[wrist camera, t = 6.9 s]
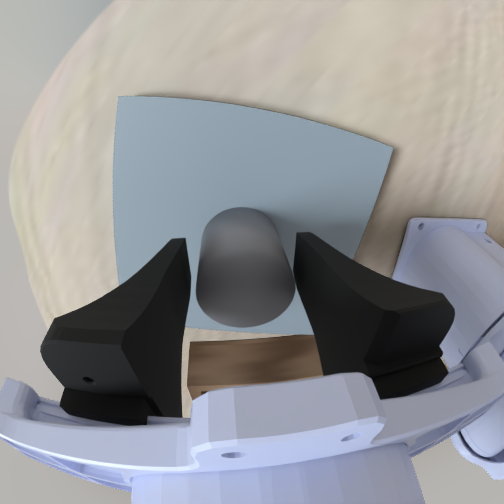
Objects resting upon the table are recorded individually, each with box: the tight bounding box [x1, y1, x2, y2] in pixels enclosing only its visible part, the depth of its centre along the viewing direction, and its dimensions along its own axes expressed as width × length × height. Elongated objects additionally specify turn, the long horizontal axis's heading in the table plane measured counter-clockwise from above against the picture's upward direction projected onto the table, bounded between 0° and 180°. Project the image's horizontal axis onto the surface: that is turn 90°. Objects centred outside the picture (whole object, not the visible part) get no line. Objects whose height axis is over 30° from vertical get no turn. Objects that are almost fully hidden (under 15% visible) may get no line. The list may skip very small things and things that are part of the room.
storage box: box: [187, 335, 323, 400], centre depth 22 cm, size 12×12×4 cm
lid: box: [113, 96, 393, 335], centre depth 13 cm, size 14×14×6 cm
